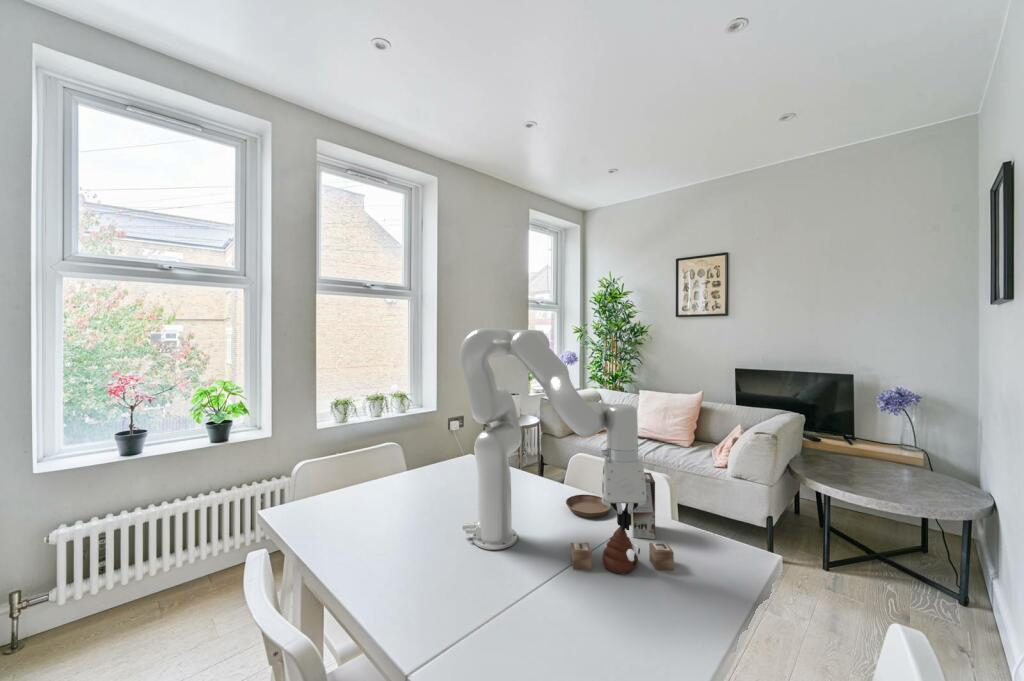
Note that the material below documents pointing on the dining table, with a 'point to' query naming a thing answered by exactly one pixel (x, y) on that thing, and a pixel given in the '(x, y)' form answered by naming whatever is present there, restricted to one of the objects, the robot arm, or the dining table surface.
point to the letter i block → (581, 556)
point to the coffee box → (645, 513)
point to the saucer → (587, 505)
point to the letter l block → (661, 556)
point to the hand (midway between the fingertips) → (624, 527)
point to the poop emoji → (620, 553)
